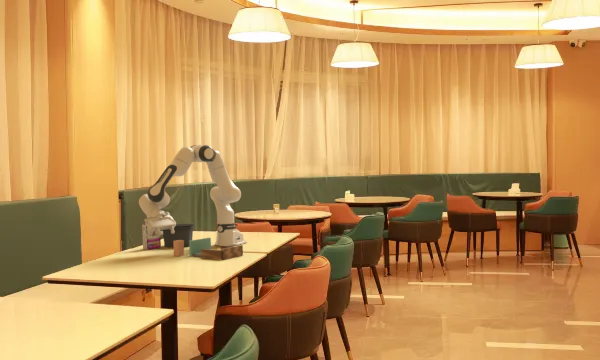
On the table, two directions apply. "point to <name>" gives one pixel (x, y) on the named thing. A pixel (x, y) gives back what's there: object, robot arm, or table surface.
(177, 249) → the terracotta block
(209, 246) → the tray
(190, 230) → the storage bin
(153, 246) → the candy bar box
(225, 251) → the dock
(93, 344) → the table surface
